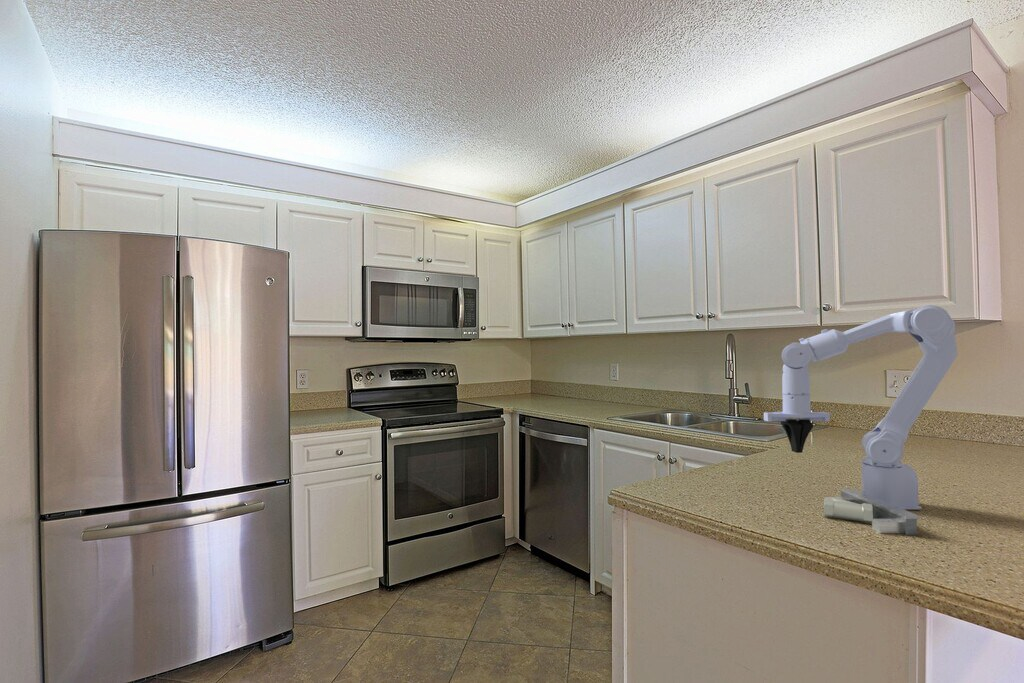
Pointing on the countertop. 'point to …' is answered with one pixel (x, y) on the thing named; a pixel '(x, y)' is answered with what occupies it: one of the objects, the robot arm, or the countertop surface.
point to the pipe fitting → (848, 510)
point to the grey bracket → (884, 513)
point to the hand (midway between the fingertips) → (797, 451)
